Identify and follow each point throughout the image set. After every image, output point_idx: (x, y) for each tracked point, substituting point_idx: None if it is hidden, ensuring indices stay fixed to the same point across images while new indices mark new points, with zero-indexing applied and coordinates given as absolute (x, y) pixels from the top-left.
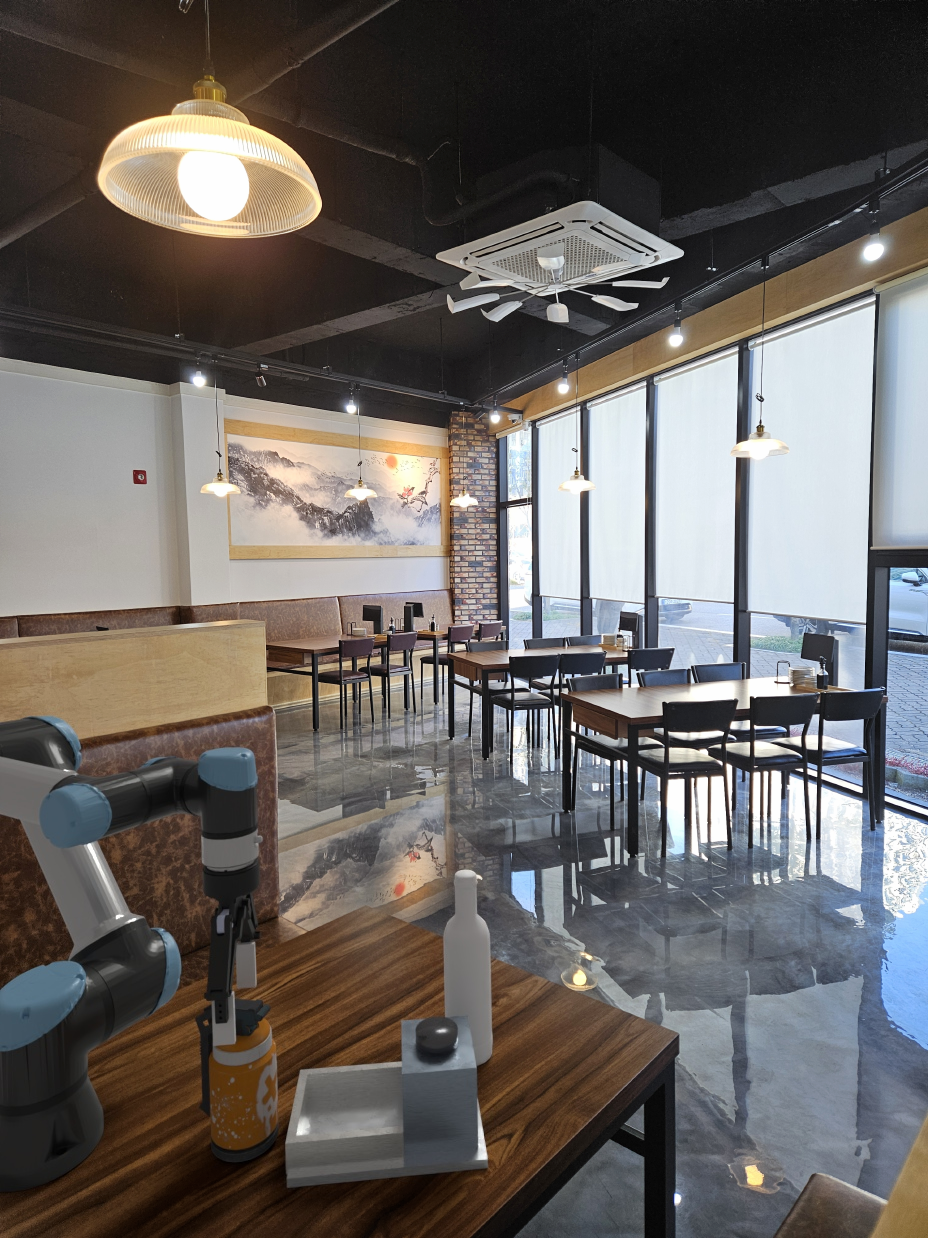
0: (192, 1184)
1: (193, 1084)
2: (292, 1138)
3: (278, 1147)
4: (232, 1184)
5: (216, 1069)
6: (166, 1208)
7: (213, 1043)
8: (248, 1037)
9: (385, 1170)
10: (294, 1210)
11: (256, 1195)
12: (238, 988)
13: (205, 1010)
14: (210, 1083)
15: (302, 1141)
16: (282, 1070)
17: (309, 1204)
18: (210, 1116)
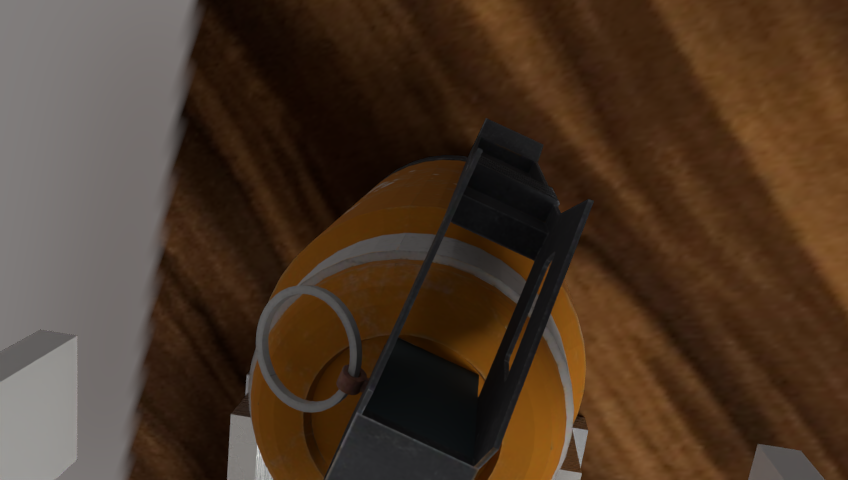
0: (319, 114)
1: (809, 44)
2: (245, 435)
3: None
4: (297, 226)
5: (305, 254)
6: (249, 54)
7: (29, 338)
8: (302, 464)
9: None
10: (187, 379)
11: (248, 290)
12: (754, 457)
13: (580, 213)
14: (370, 200)
15: (229, 461)
16: (768, 358)
17: (198, 413)
18: (415, 170)
